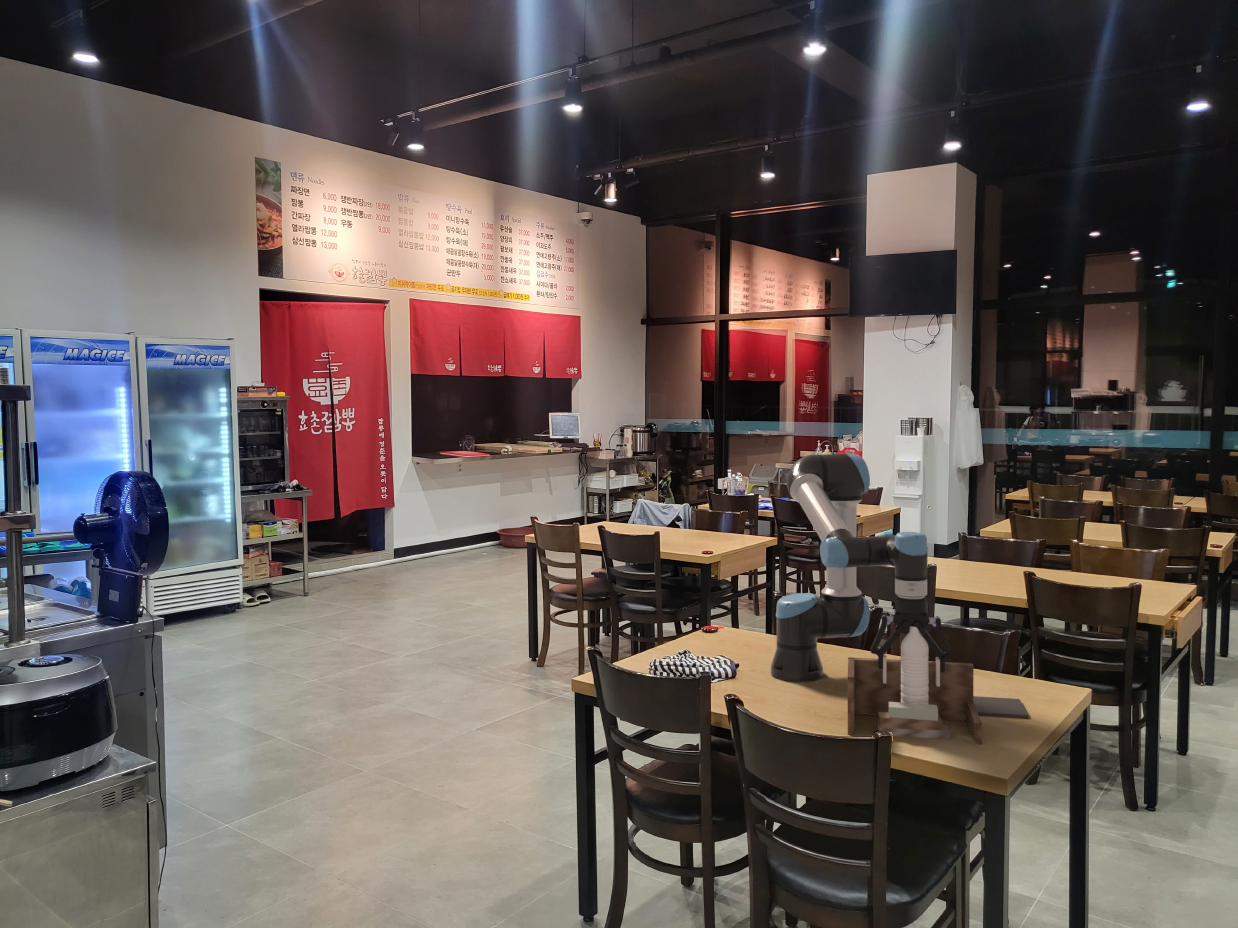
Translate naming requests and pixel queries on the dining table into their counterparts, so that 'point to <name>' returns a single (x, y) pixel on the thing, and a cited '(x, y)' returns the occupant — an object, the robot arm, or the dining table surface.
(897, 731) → the offcut bottom
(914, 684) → the water bottle
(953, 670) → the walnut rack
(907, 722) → the offcut middle
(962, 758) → the dining table surface
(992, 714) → the rubber mat
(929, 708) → the offcut top
